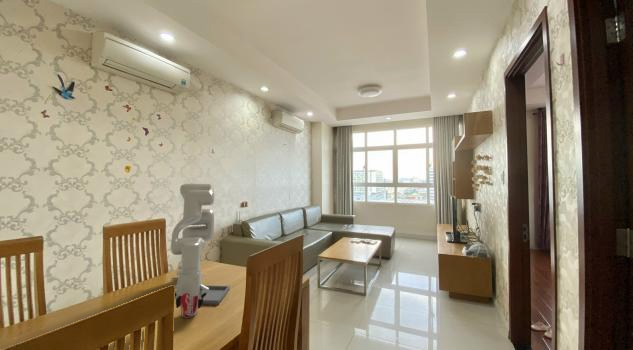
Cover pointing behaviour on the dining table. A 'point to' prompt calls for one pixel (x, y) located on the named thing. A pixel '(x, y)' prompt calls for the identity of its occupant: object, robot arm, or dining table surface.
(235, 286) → the dining table surface
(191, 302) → the soda can
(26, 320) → the dining table surface
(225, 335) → the dining table surface
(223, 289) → the tray
